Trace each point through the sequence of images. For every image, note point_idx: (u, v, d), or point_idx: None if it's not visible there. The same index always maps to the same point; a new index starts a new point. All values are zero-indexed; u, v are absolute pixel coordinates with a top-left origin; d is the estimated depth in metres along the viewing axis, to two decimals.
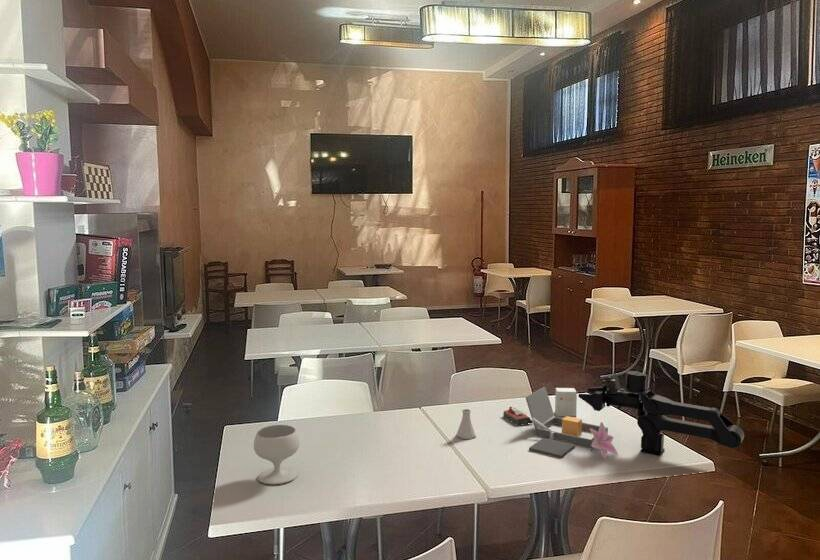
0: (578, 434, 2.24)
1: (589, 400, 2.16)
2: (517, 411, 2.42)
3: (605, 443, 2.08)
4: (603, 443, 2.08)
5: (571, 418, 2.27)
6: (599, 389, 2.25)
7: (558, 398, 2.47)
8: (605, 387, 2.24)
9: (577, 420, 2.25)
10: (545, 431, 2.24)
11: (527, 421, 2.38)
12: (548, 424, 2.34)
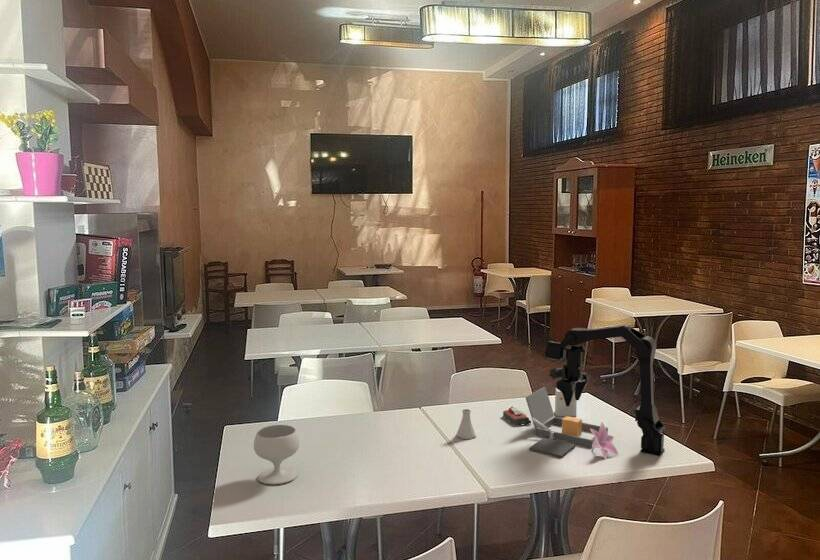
0: (578, 434, 2.24)
1: (568, 395, 2.20)
2: (516, 411, 2.42)
3: (606, 443, 2.08)
4: (604, 443, 2.08)
5: (571, 418, 2.27)
6: (575, 388, 2.29)
7: (558, 398, 2.47)
8: None
9: (577, 420, 2.25)
10: (545, 431, 2.24)
11: (525, 421, 2.37)
12: (548, 424, 2.34)
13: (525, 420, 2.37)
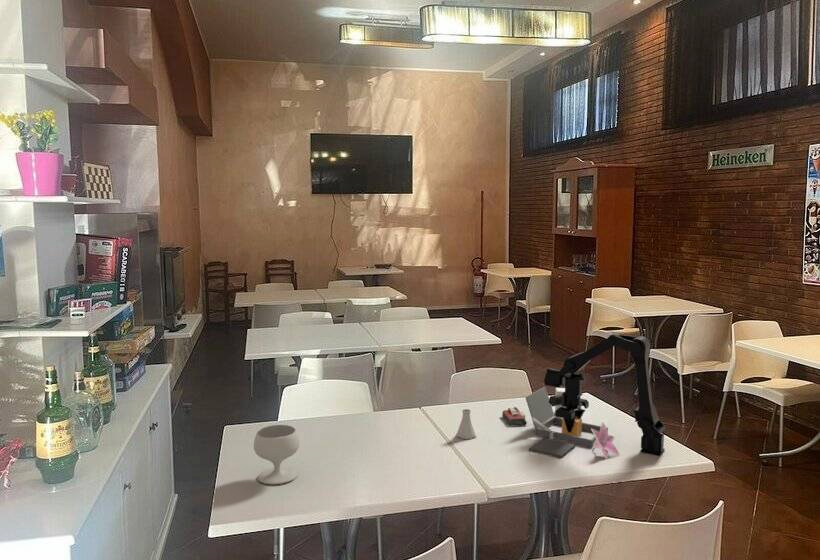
0: (578, 434, 2.24)
1: (570, 421, 2.23)
2: (514, 411, 2.42)
3: (606, 443, 2.08)
4: (604, 443, 2.08)
5: None
6: None
7: None
8: None
9: (577, 420, 2.25)
10: (545, 431, 2.24)
11: (521, 422, 2.37)
12: (548, 424, 2.34)
13: (521, 421, 2.37)
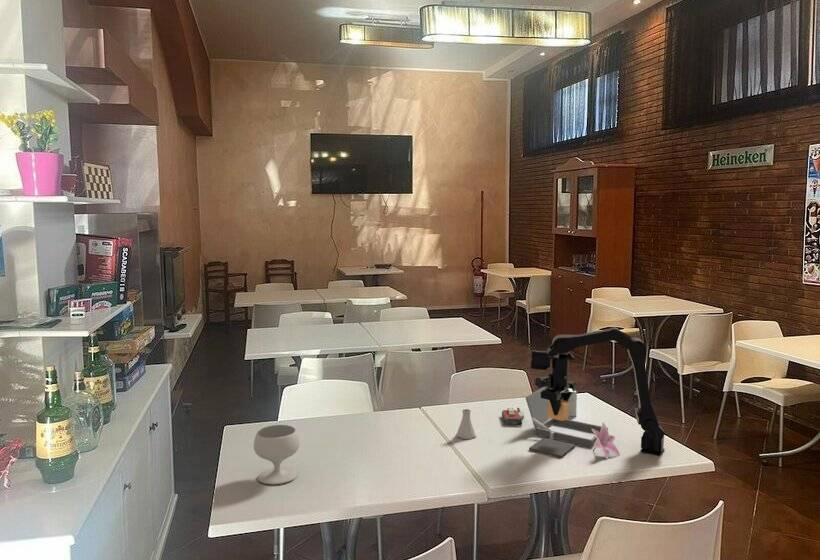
0: (564, 417, 2.13)
1: (556, 404, 2.12)
2: (512, 411, 2.42)
3: (607, 443, 2.08)
4: (605, 443, 2.08)
5: None
6: None
7: None
8: None
9: (564, 402, 2.14)
10: (545, 431, 2.24)
11: (517, 422, 2.36)
12: (548, 424, 2.34)
13: (516, 421, 2.36)
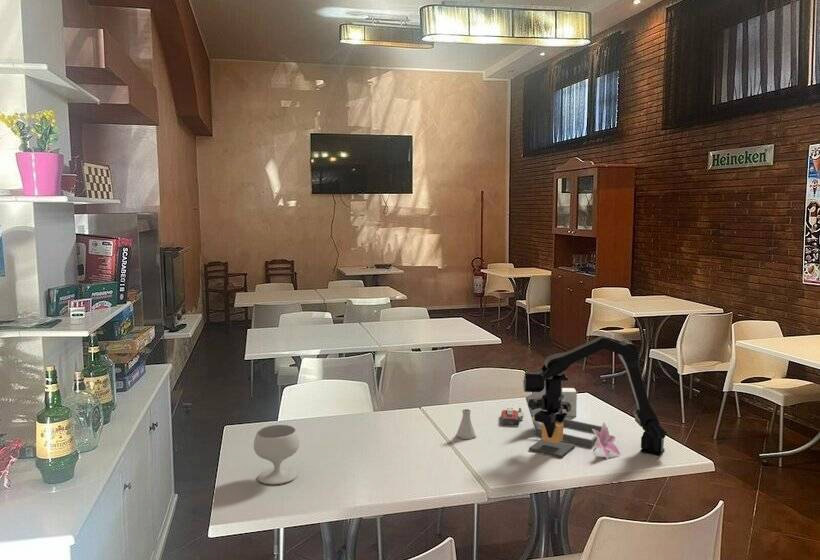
0: (559, 439, 2.09)
1: (550, 426, 2.08)
2: (510, 411, 2.42)
3: (607, 443, 2.08)
4: (605, 443, 2.08)
5: None
6: None
7: None
8: None
9: (558, 424, 2.10)
10: None
11: (513, 422, 2.36)
12: None
13: (513, 421, 2.36)
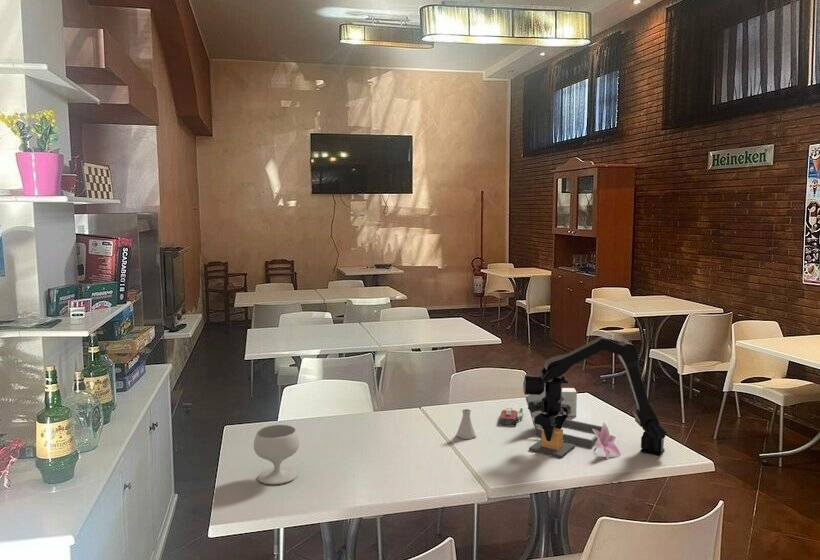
0: (559, 446, 2.10)
1: (549, 429, 2.07)
2: (509, 411, 2.42)
3: (608, 443, 2.08)
4: (606, 443, 2.08)
5: None
6: (555, 422, 2.15)
7: None
8: None
9: (558, 431, 2.10)
10: None
11: (511, 422, 2.36)
12: None
13: (510, 421, 2.36)
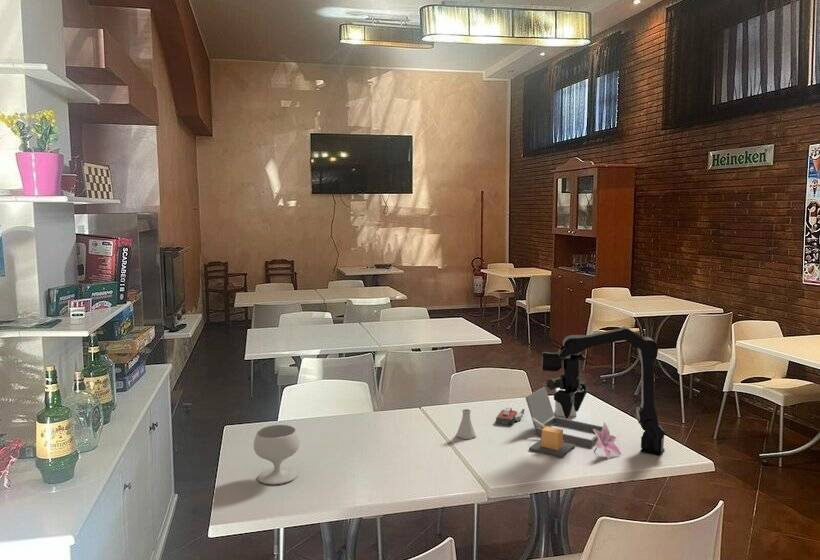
0: (559, 446, 2.10)
1: (567, 407, 2.09)
2: (507, 411, 2.42)
3: (608, 443, 2.08)
4: (606, 443, 2.08)
5: (551, 428, 2.12)
6: (574, 398, 2.18)
7: None
8: None
9: (558, 431, 2.10)
10: None
11: (507, 422, 2.37)
12: (548, 424, 2.34)
13: (507, 421, 2.37)
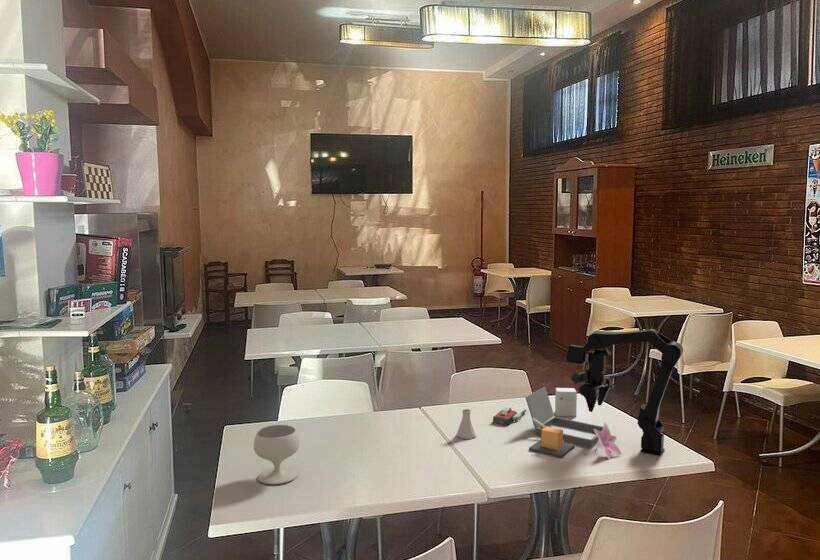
0: (559, 446, 2.10)
1: (591, 400, 2.14)
2: (505, 411, 2.42)
3: (609, 443, 2.08)
4: (607, 443, 2.08)
5: (551, 428, 2.12)
6: (598, 393, 2.23)
7: (558, 398, 2.47)
8: None
9: (558, 431, 2.10)
10: None
11: (503, 422, 2.37)
12: (548, 424, 2.34)
13: (503, 420, 2.37)
